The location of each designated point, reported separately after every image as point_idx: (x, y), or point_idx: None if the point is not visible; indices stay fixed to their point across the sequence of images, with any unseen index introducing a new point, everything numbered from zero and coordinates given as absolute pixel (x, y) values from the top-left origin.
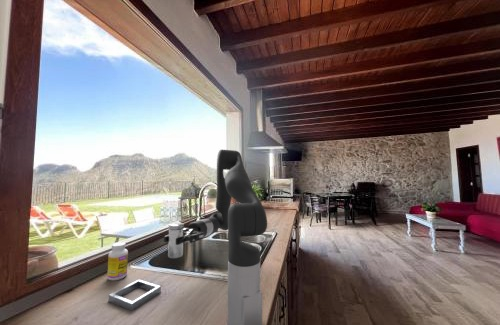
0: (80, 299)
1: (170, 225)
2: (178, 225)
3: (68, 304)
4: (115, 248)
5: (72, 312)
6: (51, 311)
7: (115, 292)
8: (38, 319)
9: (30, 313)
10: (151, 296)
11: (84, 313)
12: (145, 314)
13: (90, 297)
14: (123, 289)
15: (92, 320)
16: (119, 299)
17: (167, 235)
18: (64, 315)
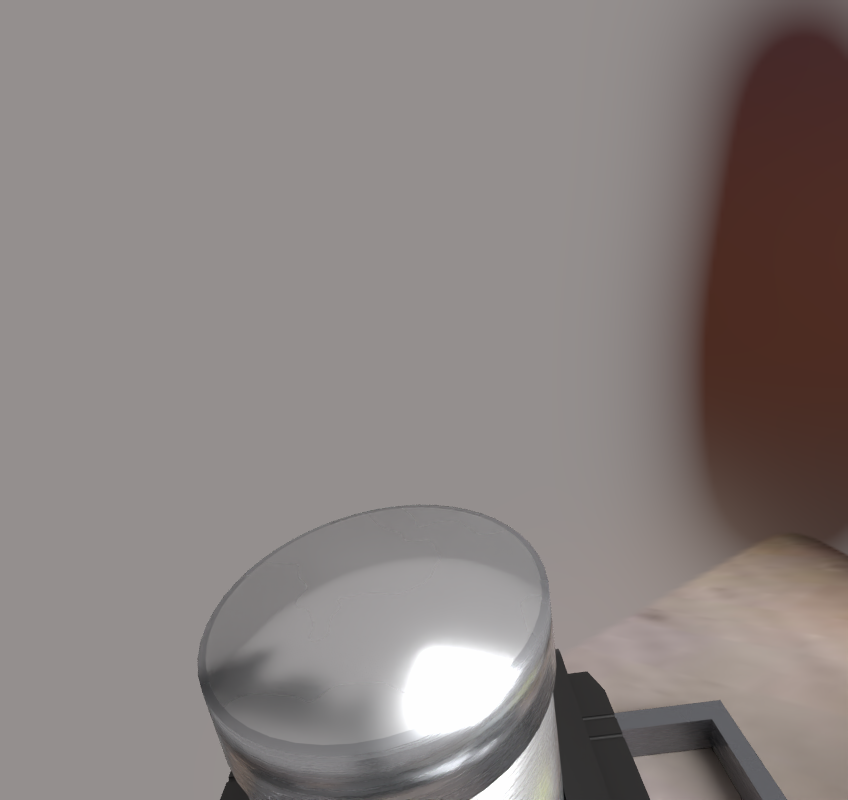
0: (840, 661)
1: (442, 521)
2: (292, 582)
3: (809, 624)
4: None
5: (712, 618)
6: (776, 585)
7: (729, 733)
8: (736, 561)
9: (805, 553)
10: None
11: (669, 638)
12: None
13: (839, 693)
14: (753, 786)
15: (589, 640)
16: (623, 714)
17: (557, 691)
18: (707, 601)
